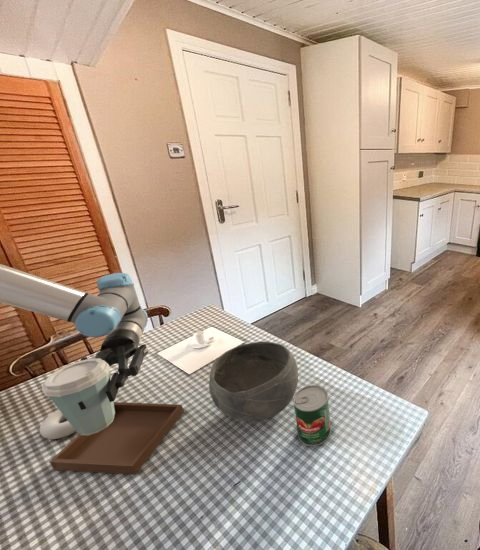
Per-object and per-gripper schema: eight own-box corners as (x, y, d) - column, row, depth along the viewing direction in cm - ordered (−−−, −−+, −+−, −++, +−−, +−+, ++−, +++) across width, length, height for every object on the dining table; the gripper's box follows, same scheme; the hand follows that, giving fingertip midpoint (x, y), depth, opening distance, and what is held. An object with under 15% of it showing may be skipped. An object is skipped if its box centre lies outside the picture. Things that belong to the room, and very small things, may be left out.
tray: (53, 470, 65) (48, 461, 64) (116, 409, 80) (113, 401, 79) (135, 474, 64) (132, 466, 63) (184, 412, 79) (181, 404, 78)
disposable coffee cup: (54, 436, 65) (23, 381, 59) (107, 400, 75) (85, 350, 69) (88, 449, 62) (60, 393, 57) (139, 410, 72) (118, 358, 66)
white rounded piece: (220, 341, 109) (218, 331, 107) (199, 352, 103) (196, 342, 101) (206, 334, 113) (203, 324, 112) (184, 344, 107) (182, 335, 106)
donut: (100, 422, 77) (91, 403, 83) (96, 412, 75) (86, 393, 81) (46, 450, 70) (39, 427, 75) (39, 440, 68) (34, 416, 74)
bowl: (220, 390, 86) (209, 346, 81) (295, 372, 93) (290, 331, 88) (214, 454, 68) (200, 403, 63) (307, 425, 75) (302, 377, 69)
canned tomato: (326, 414, 78) (323, 381, 74) (334, 440, 71) (332, 404, 67) (295, 424, 75) (291, 390, 71) (301, 451, 69) (296, 415, 64)
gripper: (162, 344, 87) (149, 400, 67) (87, 361, 80) (48, 429, 60) (155, 322, 84) (140, 373, 64) (76, 337, 77) (32, 400, 57)
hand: (95, 400), depth 62 cm, fingers open, 4 cm apart
